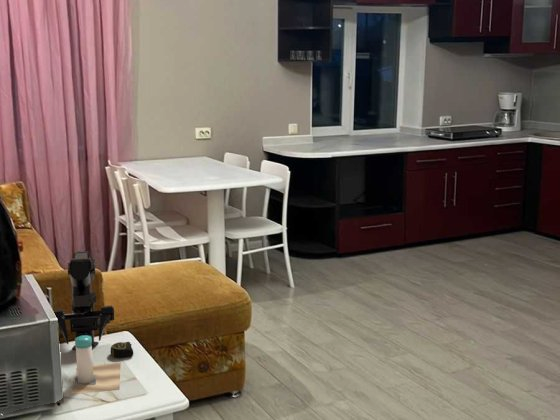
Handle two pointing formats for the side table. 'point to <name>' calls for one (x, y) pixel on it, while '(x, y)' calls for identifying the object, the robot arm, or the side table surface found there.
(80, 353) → the ball
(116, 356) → the tape measure
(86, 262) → the robot arm
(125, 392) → the side table surface
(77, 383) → the board
